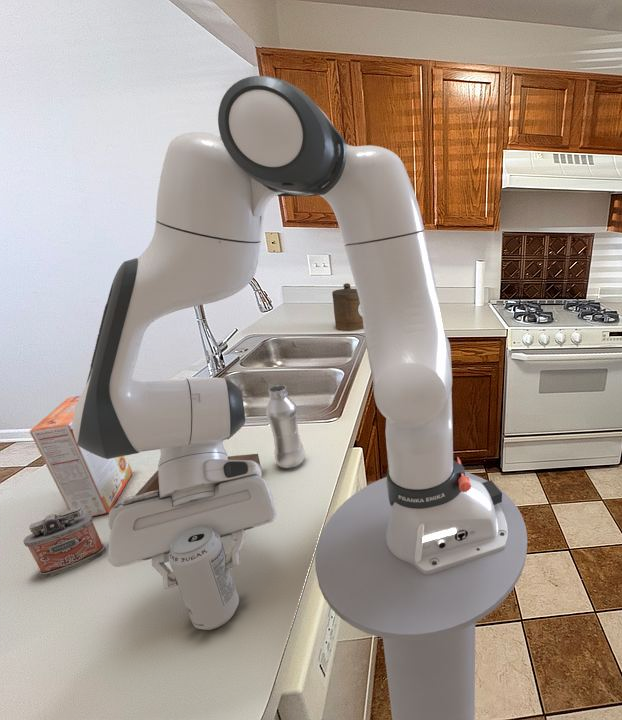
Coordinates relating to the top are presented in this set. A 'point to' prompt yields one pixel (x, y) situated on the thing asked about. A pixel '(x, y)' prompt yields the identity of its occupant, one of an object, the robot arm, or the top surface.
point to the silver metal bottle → (284, 428)
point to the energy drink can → (203, 577)
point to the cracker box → (79, 464)
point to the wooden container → (347, 309)
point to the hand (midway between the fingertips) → (203, 576)
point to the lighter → (64, 542)
